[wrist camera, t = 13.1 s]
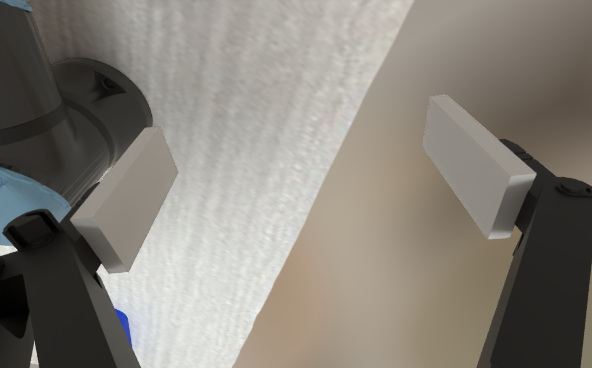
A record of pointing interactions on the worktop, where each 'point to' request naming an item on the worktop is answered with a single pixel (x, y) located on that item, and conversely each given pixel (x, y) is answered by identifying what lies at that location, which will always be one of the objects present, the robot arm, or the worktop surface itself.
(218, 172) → the worktop surface
